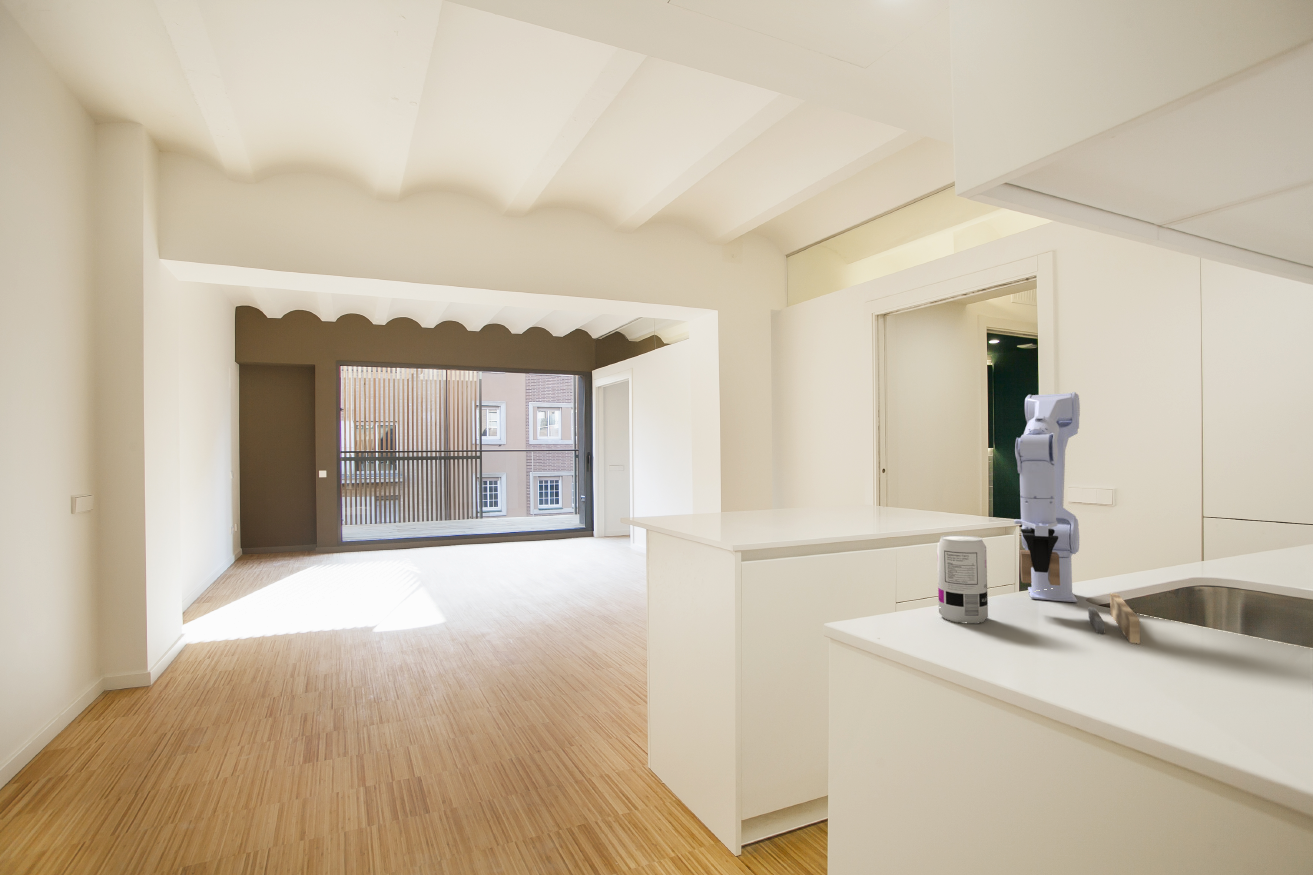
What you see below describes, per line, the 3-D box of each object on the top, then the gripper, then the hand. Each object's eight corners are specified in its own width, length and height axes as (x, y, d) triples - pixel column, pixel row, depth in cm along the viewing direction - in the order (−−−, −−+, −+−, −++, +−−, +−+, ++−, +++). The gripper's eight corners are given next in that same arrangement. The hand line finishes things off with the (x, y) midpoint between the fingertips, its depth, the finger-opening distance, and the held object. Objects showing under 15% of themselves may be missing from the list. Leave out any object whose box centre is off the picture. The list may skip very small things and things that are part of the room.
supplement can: (929, 614, 119) (927, 536, 119) (964, 610, 122) (962, 533, 122) (962, 626, 112) (959, 542, 112) (998, 621, 114) (996, 539, 114)
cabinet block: (1020, 578, 122) (1019, 543, 122) (1057, 580, 119) (1056, 545, 120) (1022, 582, 118) (1021, 546, 118) (1060, 585, 115) (1058, 548, 115)
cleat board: (1085, 612, 119) (1084, 591, 119) (1118, 615, 116) (1117, 593, 116) (1101, 639, 103) (1100, 615, 103) (1139, 643, 100) (1139, 618, 100)
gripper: (1011, 493, 127) (1013, 560, 127) (1015, 500, 114) (1017, 574, 114) (1052, 494, 124) (1054, 563, 124) (1060, 501, 111) (1063, 578, 111)
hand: (1039, 569), depth 119 cm, fingers closed on cabinet block, 5 cm apart
